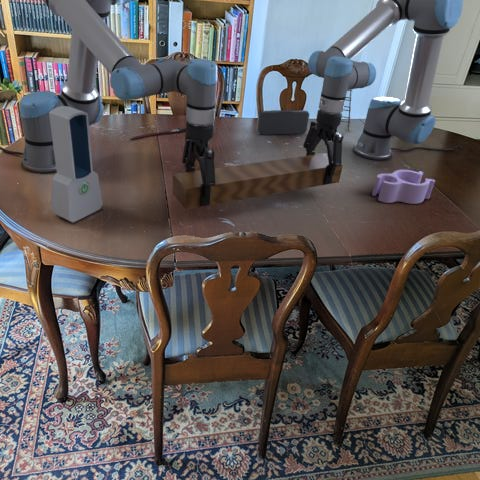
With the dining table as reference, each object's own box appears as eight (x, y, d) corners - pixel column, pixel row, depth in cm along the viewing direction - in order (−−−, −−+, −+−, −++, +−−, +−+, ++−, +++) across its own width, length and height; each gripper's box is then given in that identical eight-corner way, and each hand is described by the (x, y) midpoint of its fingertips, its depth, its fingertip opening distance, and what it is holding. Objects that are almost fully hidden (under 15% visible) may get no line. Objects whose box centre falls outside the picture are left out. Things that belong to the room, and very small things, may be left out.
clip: (385, 206, 156) (390, 187, 152) (365, 189, 166) (370, 171, 162) (433, 201, 162) (440, 184, 158) (412, 185, 172) (417, 168, 168)
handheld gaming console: (303, 131, 211) (307, 109, 206) (306, 133, 209) (310, 111, 204) (256, 132, 204) (259, 110, 199) (258, 135, 202) (261, 112, 197)
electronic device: (70, 224, 129) (57, 118, 113) (51, 215, 132) (36, 111, 116) (103, 208, 138) (96, 107, 122) (85, 200, 141) (76, 101, 125)
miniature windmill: (349, 131, 218) (364, 64, 201) (331, 128, 219) (344, 61, 202) (349, 124, 225) (363, 60, 209) (331, 122, 226) (344, 57, 210)
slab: (185, 209, 130) (186, 189, 126) (172, 193, 137) (172, 174, 133) (339, 182, 154) (343, 164, 151) (321, 170, 162) (324, 153, 158)
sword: (193, 127, 202) (193, 124, 201) (196, 129, 200) (196, 126, 199) (126, 139, 186) (126, 136, 185) (130, 142, 184) (130, 139, 183)
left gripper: (232, 135, 117) (226, 212, 129) (195, 107, 133) (193, 178, 145) (205, 138, 114) (201, 217, 126) (171, 109, 130) (170, 182, 142)
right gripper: (299, 100, 150) (289, 164, 162) (344, 124, 133) (329, 193, 146) (318, 99, 153) (306, 162, 165) (364, 122, 137) (347, 189, 149)
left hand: (197, 196), depth 135 cm, fingers closed on slab, 10 cm apart
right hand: (317, 176), depth 155 cm, fingers closed on slab, 10 cm apart
